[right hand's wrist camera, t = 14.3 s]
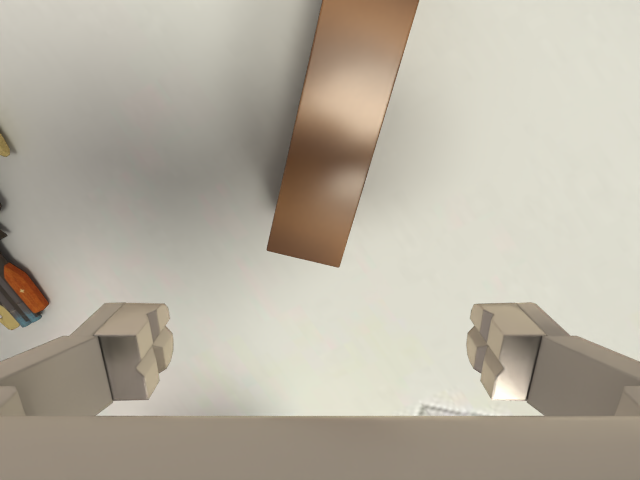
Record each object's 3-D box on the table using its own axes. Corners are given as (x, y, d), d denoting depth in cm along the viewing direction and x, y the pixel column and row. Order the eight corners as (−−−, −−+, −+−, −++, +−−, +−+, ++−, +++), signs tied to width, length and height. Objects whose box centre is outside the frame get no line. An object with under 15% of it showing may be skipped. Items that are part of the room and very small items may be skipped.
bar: (334, 228, 34) (339, 268, 26) (279, 214, 33) (266, 251, 25) (417, -64, 26) (460, -138, 18) (348, -86, 26) (361, -172, 18)
